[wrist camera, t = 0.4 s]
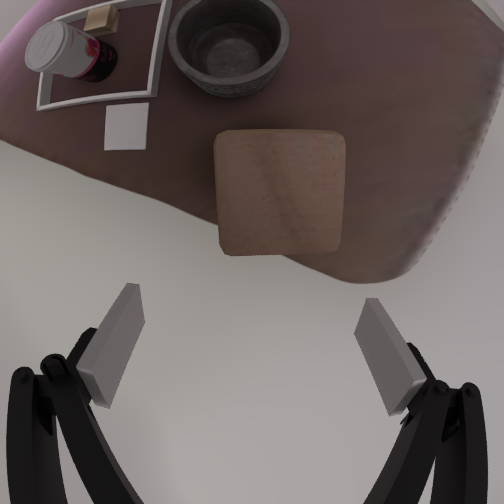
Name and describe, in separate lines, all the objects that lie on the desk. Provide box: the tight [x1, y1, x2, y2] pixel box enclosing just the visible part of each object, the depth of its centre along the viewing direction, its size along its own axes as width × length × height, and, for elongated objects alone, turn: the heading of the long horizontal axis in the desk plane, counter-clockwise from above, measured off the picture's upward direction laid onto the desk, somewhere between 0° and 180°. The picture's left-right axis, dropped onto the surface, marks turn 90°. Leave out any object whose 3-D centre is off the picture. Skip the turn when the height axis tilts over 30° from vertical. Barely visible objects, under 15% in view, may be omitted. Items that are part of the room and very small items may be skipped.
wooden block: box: [213, 129, 346, 256], centre depth 29 cm, size 10×10×20 cm
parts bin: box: [36, 0, 173, 111], centre depth 28 cm, size 17×21×3 cm
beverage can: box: [25, 21, 117, 82], centre depth 23 cm, size 6×6×15 cm
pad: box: [104, 103, 150, 150], centre depth 35 cm, size 7×7×1 cm
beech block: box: [84, 5, 121, 37], centre depth 26 cm, size 4×4×4 cm
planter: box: [168, 0, 290, 98], centre depth 26 cm, size 12×12×13 cm
